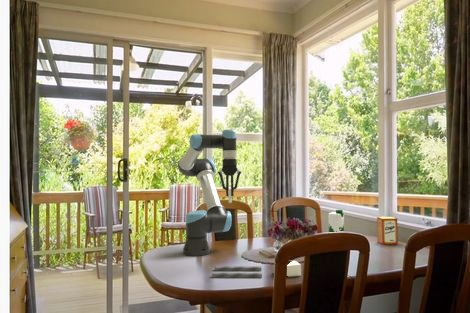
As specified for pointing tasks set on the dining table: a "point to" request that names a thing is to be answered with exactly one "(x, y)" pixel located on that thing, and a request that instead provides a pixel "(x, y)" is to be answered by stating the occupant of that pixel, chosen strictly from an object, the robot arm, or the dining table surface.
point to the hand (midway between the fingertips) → (229, 202)
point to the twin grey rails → (237, 275)
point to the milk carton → (336, 221)
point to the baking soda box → (387, 230)
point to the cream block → (294, 269)
